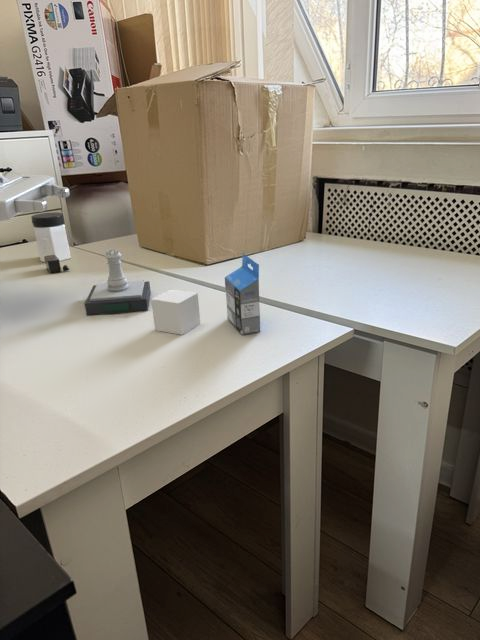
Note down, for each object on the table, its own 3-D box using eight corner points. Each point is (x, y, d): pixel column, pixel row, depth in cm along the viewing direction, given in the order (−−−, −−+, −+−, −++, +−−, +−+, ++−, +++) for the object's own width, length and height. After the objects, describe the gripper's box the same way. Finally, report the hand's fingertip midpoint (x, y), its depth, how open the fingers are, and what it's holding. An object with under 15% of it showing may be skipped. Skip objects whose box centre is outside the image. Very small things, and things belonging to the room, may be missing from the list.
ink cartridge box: (226, 318, 97) (222, 255, 91) (245, 315, 98) (242, 252, 93) (241, 335, 89) (237, 267, 84) (261, 332, 90) (259, 264, 85)
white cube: (200, 323, 95) (197, 292, 92) (182, 335, 90) (178, 303, 88) (174, 318, 98) (170, 289, 95) (154, 330, 93) (150, 298, 90)
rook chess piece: (133, 286, 107) (128, 248, 103) (121, 292, 103) (115, 254, 100) (115, 284, 108) (109, 247, 105) (102, 291, 104) (96, 252, 101)
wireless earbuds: (51, 274, 128) (48, 262, 126) (46, 268, 133) (43, 256, 132) (70, 271, 130) (67, 259, 129) (64, 265, 136) (62, 253, 134)
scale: (86, 316, 100) (83, 301, 99) (95, 296, 111) (92, 282, 110) (147, 311, 102) (145, 296, 100) (150, 292, 113) (149, 278, 112)
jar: (33, 262, 140) (23, 218, 135) (49, 254, 147) (40, 212, 142) (63, 262, 138) (54, 217, 133) (77, 254, 146) (69, 212, 140)
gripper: (18, 194, 108) (81, 201, 107) (-42, 224, 90) (33, 232, 89) (12, 163, 104) (77, 170, 103) (-51, 188, 87) (27, 196, 86)
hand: (56, 199), depth 96 cm, fingers open, 8 cm apart
